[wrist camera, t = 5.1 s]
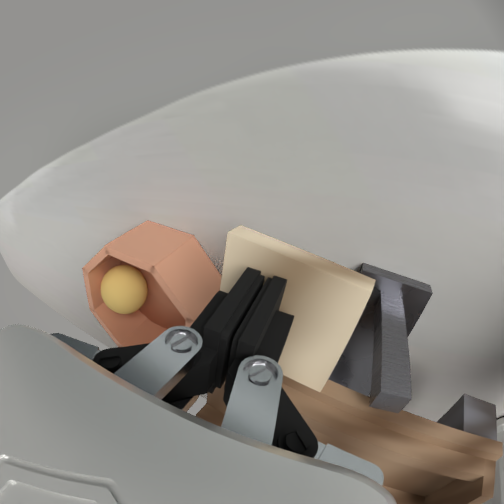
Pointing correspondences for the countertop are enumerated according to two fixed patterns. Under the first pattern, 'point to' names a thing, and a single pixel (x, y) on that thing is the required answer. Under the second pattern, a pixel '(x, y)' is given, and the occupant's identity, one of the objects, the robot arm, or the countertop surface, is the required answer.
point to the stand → (383, 341)
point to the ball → (124, 289)
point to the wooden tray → (349, 401)
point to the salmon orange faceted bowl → (154, 282)
